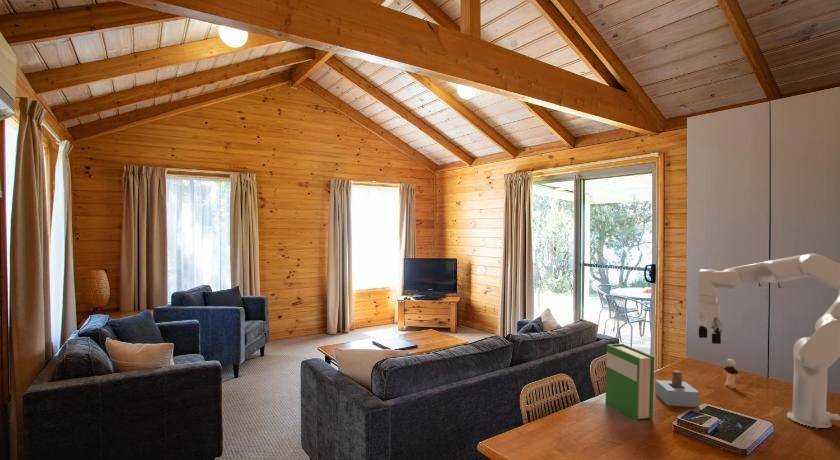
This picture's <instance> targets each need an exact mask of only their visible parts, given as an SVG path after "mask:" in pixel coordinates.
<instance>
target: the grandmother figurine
mask: <svg viewBox="0 0 840 460" xmlns="http://www.w3.org/2000/svg"><path fill="white" fill-rule="evenodd" d="M726 362H727V365H726V366H725V368H724V369H723V371H722V373H723V374H726V377H725V379H726V380H725V383H723V386H725V387H728V388H730V389H734V388H736V387H735V382H736V381H735V379H736V378H738V379H739V378H740V372H739V371H738V370H737V369H736V368H735V367H734V366H736V365H737V363H736V361H735V360H734V359H733V358H728V359H727V360H726ZM735 376H736V378H735Z"/></svg>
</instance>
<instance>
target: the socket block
mask: <svg viewBox="0 0 840 460" xmlns="http://www.w3.org/2000/svg"><path fill="white" fill-rule="evenodd" d="M654 387H655V388H654V390H655V391H654V392H655V393H654V394H655V395H656V396H657V397H658V399H660V400H661V401H663V403H664V404H666V406H674V407H675V406H676V407H688V408H689V407H692V408H693V407H694V408H697V407H696V406H699V407H700V392H699V391H698V390H697V389H696V388H694V386H692V385H690V384H689V383H687V382H686V381H683V380H682V388H672V380H663V379H660V380H659V379H656V380H655V384H654Z"/></svg>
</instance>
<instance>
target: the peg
mask: <svg viewBox="0 0 840 460" xmlns="http://www.w3.org/2000/svg"><path fill="white" fill-rule="evenodd" d="M671 381H672V388H682V381H683V371H680V370H677V369H676V370H675V369H674V370H672V371H671Z"/></svg>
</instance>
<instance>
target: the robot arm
mask: <svg viewBox="0 0 840 460" xmlns="http://www.w3.org/2000/svg"><path fill="white" fill-rule="evenodd" d="M809 277H810V278H812V279H813V280H815V281H818V282H820V283H822V284H825V285H827V286H829V287H831V288H834V289H836V290H838V291H837V292H838V294H837V298H836V299H835V300H834V302H833V303H832V304H831V306H830V307H829V308H828V309H827V310H826V311H825V313H824V314H823V315H822V316H821V317H820V318H819V319H817V321H816V322H815V324H814V330H815V332H814V333H812V335H811V336H804V337H800V338H799V339H797V340H796V342H795V343H794V345H793V383H792V411H788V412H787V413H786V417H787V419H789V418H790V419H791V420H793V421H795V422H798V423H800V424H799V425H801V424H803V425H802V426H804V425H807V426H806V427H808V426H810V427H809V428H812V427H816V428H815V429H818V428H828V427H831V428H832V423H831V422H830V421H832V420H835V421H840V414H837V413H831V412H830V411H827V397H828V393H827V392H828V368H830V366H832V365H833V364H835V362H836V361H837V360H838V359H839V358H840V262H838V261H837V262H836V261H835V260H833V259H830V258H828V257H827V256H826V257H825V256H824V255H820V254H819V253H813V252H812V253H804V254H800V255H793V256H789V257H783V258H778V259H772V260H771V259H770V260H767V261H762V262H757V263H751V264H746V265H741V266H740V265H739V266H735V267H730V268H725V269H724V270H721V271H720V270H717V269H710V268H709V269H707V268H706V269H699V270H698V272H697V300H698V301H697V307H696V308H697V309H696V323H697V328H698V338H699V339H700V338H701V339H708V329H711V332H712V333H711V343H712V344H714V345H716V344H718V345H719V344H722V331H723V327H724V324H723V323H722V317H721V309H720V303H721V298H720V294H721V293H720V288H721V289H727V290H734V289H738V288H740V287H741V286H742V285H748V284H754V283H761V282H762V283H779V282H785V281H787V282H788V281H793V280H798V279H805V278H809ZM790 419H789V420H790ZM791 420H790V421H791ZM793 421H792V422H793ZM795 422H794V423H795ZM798 423H797V424H798ZM828 429H829V428H828Z"/></svg>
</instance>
